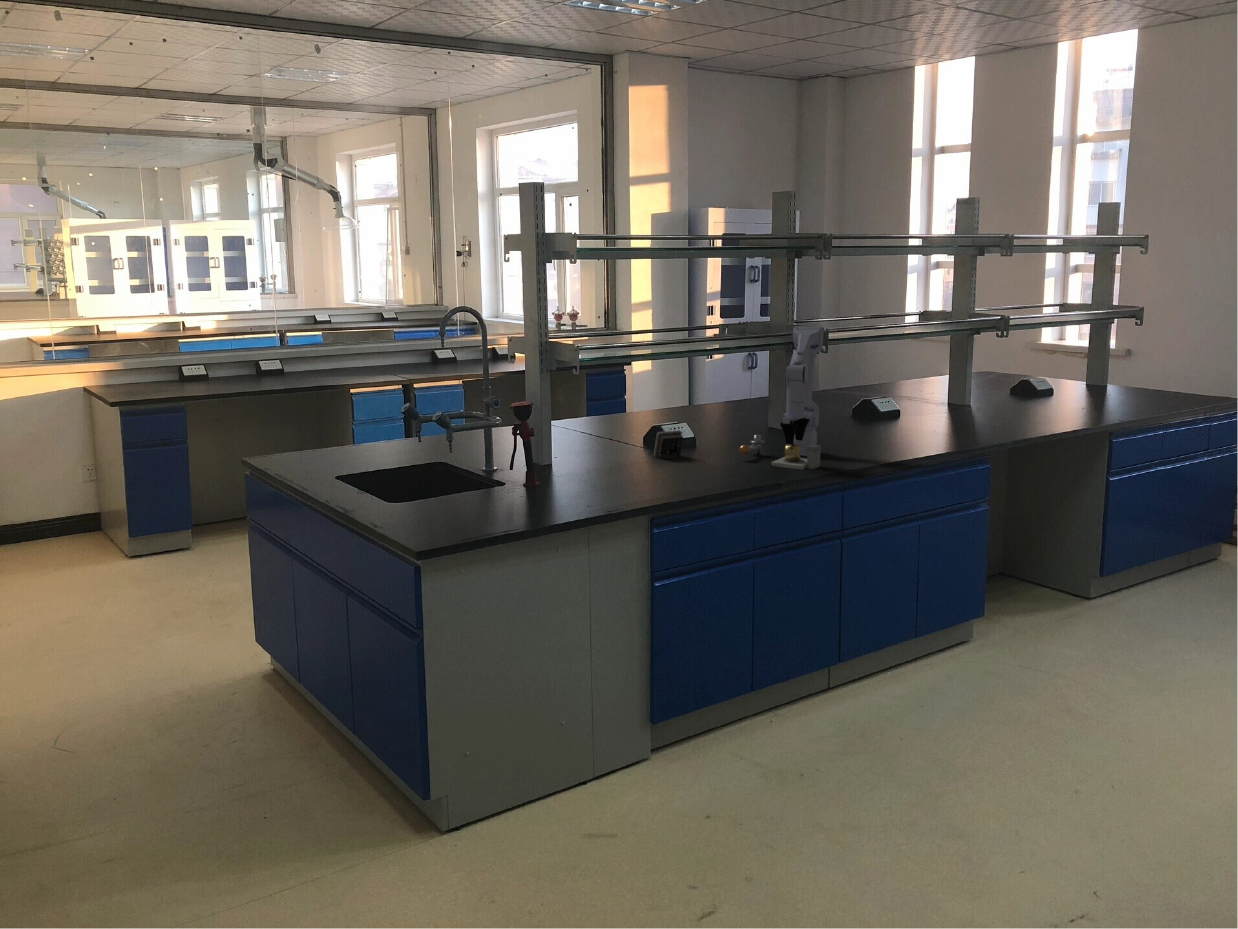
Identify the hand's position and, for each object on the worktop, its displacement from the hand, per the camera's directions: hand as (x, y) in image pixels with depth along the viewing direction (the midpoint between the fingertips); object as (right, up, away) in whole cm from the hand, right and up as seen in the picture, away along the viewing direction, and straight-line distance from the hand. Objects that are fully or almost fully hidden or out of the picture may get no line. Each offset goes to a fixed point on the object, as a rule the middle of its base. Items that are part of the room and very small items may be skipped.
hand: (794, 442), depth 335 cm
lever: (-14, -4, +11) cm, 18 cm away
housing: (-1, -6, +2) cm, 6 cm away
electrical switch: (-41, -5, +15) cm, 43 cm away
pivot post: (-10, -4, +17) cm, 20 cm away
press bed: (+1, -8, +1) cm, 8 cm away
